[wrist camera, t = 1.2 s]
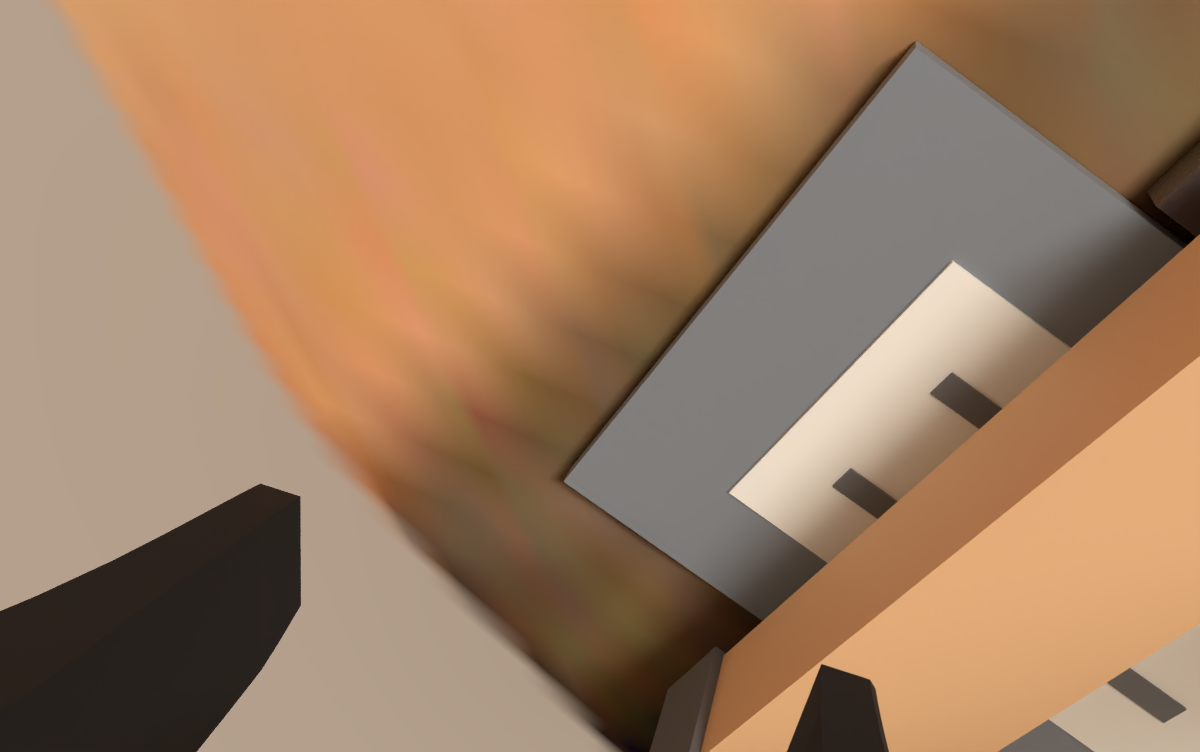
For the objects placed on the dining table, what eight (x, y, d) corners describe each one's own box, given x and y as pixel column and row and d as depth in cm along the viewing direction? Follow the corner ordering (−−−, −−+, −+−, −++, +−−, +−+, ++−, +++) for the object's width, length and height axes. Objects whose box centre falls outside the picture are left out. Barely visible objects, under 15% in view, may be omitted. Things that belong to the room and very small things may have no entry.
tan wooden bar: (1359, 37, 15) (1537, 128, 10) (1564, 196, 15) (1818, 349, 11) (674, 665, 25) (622, 844, 20) (804, 755, 25) (779, 950, 21)
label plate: (1692, 626, 18) (1720, 655, 18) (1159, 881, 25) (1166, 908, 24) (916, 40, 17) (915, 49, 17) (571, 467, 24) (561, 485, 23)
